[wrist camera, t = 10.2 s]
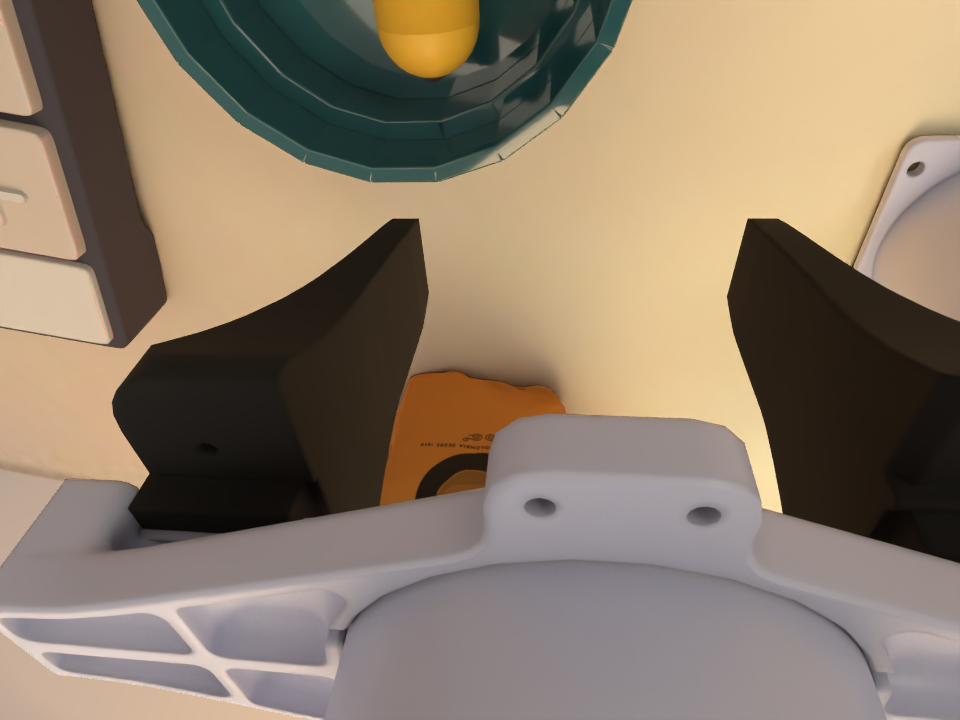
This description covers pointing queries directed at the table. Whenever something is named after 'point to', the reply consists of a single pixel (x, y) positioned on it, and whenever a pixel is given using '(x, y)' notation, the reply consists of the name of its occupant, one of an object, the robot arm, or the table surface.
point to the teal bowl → (388, 79)
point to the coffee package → (453, 432)
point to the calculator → (67, 185)
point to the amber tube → (428, 34)
